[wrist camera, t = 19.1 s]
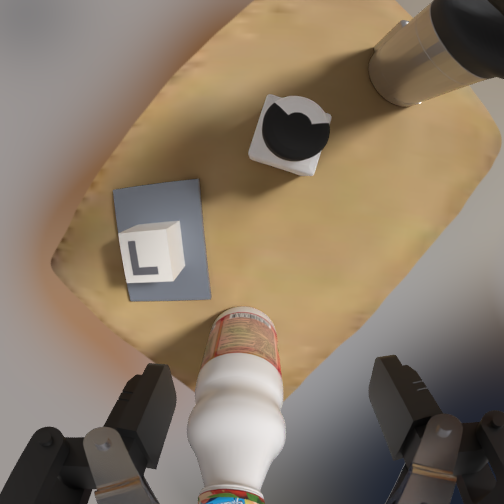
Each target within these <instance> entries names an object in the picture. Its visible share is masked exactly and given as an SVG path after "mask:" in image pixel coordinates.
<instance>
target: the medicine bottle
mask: <svg viewBox="0 0 504 504" xmlns="http://www.w3.org/2000/svg"><path fill="white" fill-rule="evenodd" d="M330 121H331V115H330V114H328V113H325V112H324V111H323V109H322V108H321V107H320V106H319V105H318V104H317V103H315V102H314V101H312V100H310V99H308V98H305V97H301V96H287V97H284V98H282V97H278V96H275V95H272V94H269V95H267V97H266V100H265V103H264V106H263V109H262V112H261V115H260V118H259V121H258V124H257V127H256V130H255V133H254V136H253V139H252V142H251V145H250V148H249V152H248V155H249V158H250V159H251V160H253V161H257V162H260V163H263V164H266V165H270V166H273V167H276V168H279V169H282V170H285V171H288V172H291V173H294V174H297V175H300V176H313V175H314V173H315V170H316V167H317V163H318V160H319V157H320V154H321V151H322V149H323V148H324V147H325V145H326V143H327V141H328V138H329V133H330V126H329V125H330Z"/></svg>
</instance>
